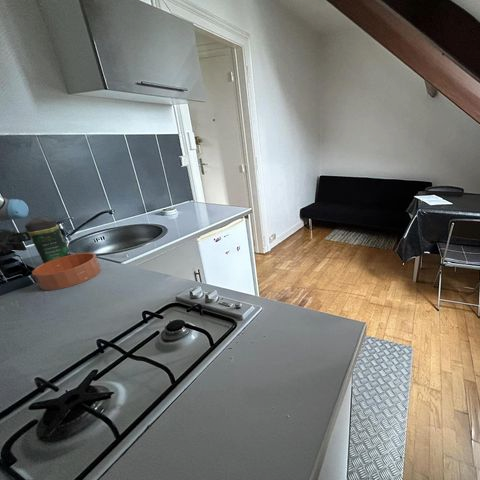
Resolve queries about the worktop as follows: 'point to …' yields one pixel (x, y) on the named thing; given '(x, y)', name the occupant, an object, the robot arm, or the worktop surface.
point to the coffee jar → (47, 238)
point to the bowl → (66, 271)
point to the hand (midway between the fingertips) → (45, 239)
